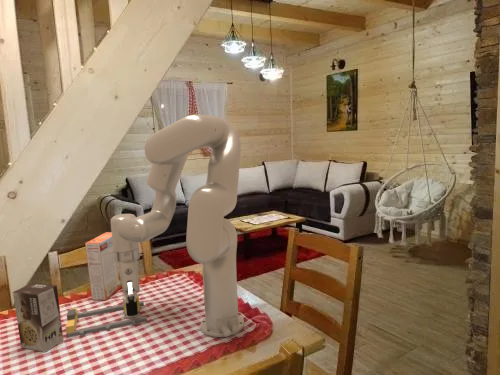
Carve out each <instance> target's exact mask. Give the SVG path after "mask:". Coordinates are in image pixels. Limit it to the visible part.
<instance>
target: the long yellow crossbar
mask: <svg viewBox="0 0 500 375" xmlns="http://www.w3.org/2000/svg"><path fill="white" fill-rule="evenodd" d="M78 313H79V312H78V307H75V308H74V307H73V308H70V309H68V310H67V313H66V325H65V333H66V334H67V333H72V332H74V331H75V330H77V326H78V325H77V324H78V319H79V318H78Z"/></svg>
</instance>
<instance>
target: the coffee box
mask: <svg viewBox="0 0 500 375" xmlns="http://www.w3.org/2000/svg"><path fill="white" fill-rule="evenodd" d="M58 292H59V291H58V285H56V284H48V283H47V284H46V283H38V282H31V283H29V284H27V285H25V286H23V287H20V288H18V289H17V290H14V291H13V292H12V296H13V302H14V309H15V315H16V324H17V328H18V334H19V342H20V343H19V344H20V348H22V349H28V350H32V351H37V352H38V351H39V352H43V353H44V352H45V353H46V352H48V351H49V350H51V349H53V348H54V347H55V346H57V345H59V344H60V343H61V342H63V341H64V335H63V334H64V333H63V327H62V326H63V325H62V318H61V310H60V303H59V302H60V300H59V293H58Z"/></svg>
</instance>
